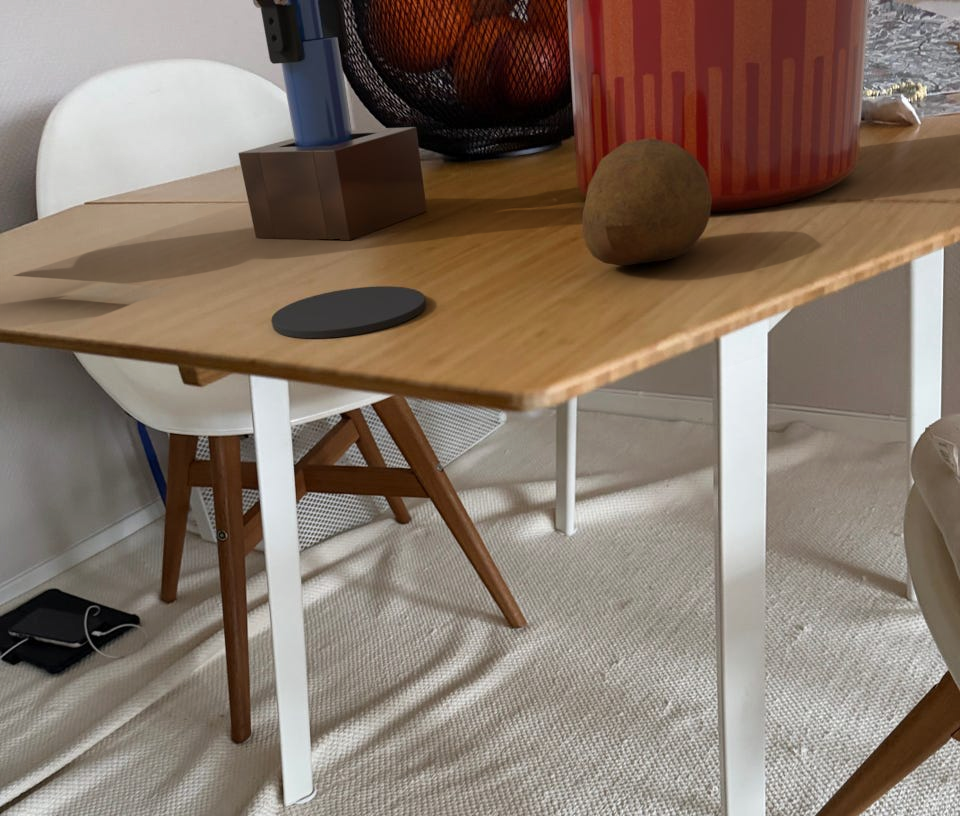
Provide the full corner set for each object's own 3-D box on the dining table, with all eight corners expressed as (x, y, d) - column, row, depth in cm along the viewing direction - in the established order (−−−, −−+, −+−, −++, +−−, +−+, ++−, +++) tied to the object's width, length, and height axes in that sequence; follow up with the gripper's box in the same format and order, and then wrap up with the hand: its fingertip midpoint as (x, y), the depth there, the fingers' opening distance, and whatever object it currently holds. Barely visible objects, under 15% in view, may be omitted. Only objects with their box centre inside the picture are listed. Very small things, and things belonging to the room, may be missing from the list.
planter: (591, 232, 83) (574, -83, 73) (568, 182, 103) (551, -72, 92) (896, 197, 82) (923, -129, 72) (814, 153, 102) (826, -108, 91)
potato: (728, 239, 77) (729, 118, 73) (689, 288, 67) (688, 152, 63) (616, 242, 80) (611, 127, 76) (564, 289, 70) (555, 160, 66)
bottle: (292, 199, 96) (255, -12, 88) (329, 188, 99) (296, -16, 91) (335, 200, 93) (301, -17, 85) (371, 188, 97) (342, -22, 88)
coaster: (240, 332, 70) (238, 324, 70) (341, 290, 77) (339, 283, 76) (360, 343, 65) (358, 335, 64) (456, 297, 71) (455, 289, 71)
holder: (255, 237, 97) (237, 152, 93) (335, 210, 104) (322, 130, 101) (349, 240, 91) (334, 150, 88) (427, 211, 99) (416, 127, 95)
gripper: (305, -202, 89) (342, 49, 99) (146, -213, 78) (204, 73, 87) (377, -220, 85) (407, 44, 95) (219, -233, 74) (273, 68, 83)
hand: (310, 55), depth 91 cm, fingers closed on bottle, 5 cm apart
